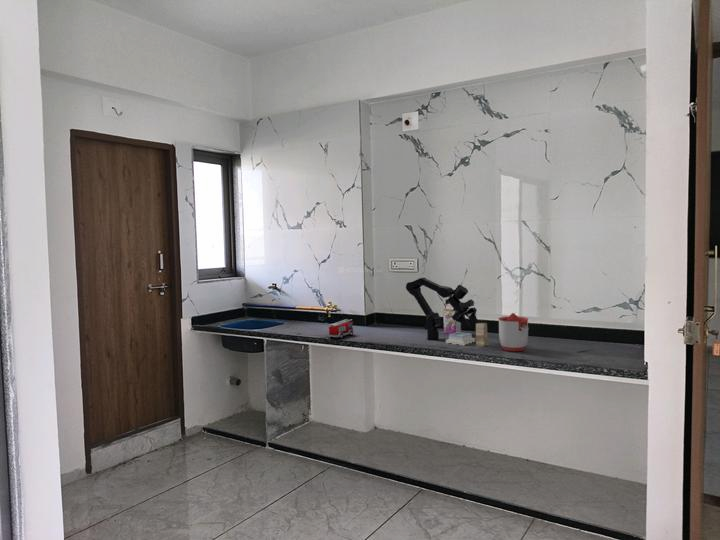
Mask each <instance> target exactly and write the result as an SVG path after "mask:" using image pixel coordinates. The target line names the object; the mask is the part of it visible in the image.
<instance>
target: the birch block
mask: <svg viewBox="0 0 720 540" xmlns="http://www.w3.org/2000/svg"><path fill="white" fill-rule="evenodd" d="M475 342H476V343H475V345H479V346H478V347H486V346H488V323H487V322H478V323H477V324H476V323H475ZM485 345H486V346H485Z"/></svg>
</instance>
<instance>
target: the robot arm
mask: <svg viewBox="0 0 720 540" xmlns="http://www.w3.org/2000/svg"><path fill="white" fill-rule="evenodd" d="M422 286H424V287H425V288H428V289H429V290H432V291H434V292H436V293H437V295H439V296H440V297H441V298H443V299H445V298H447V299H445V302H444V304H445V305H450V306H451V308H454V309H453V310H454V311H456V313H455V314H454V315H453V316H452V319H453V320H454V321H457V322H460V323H461V325H462V324H463V325H465V326H467V327H471V324H470V322H469V321H468V320H470V321H472V322H473V323H474V324H475V325H476V324H477V323H479V320H478V318H477V312H478V309H477V308H476V307H474V306H475V301H474V300H472V299H468V300H467V301H465V302H462V301H461V300H463V299H464V297H466V295H467V294H468V293H469V289H468V288H467V287H465V286H463V285H462V284H458V285H457V286H456V287H455V289H453V288H452V287H450V286H445V285H440V284H438V283H436V282H435V281H432V280H430V279H428V278H426V277H419V278H417V279H415V280H413V281H410V282H407V283H406V284H405V289H406V290H407V292H408V293H409V294H410V295H411V296H412V297H414V299H415V300H416V302H417V304H418V305H419V307H420V308H421V310H422V312H423V313H424V315H425V320H426V323H425V324H424V326H423V327H424V330H426V339H427V340H428V341H434V340H439V338H440V337H439V331H438V330H439V328H440V326H441V324H442V319H441V318H442V317H441V316H440V314H439V313H438V312H434V311H433V310H432V308H431V307H430V304H429V303H428V302H427V300H426V298H425V296H424V295H423V293H422V289H421V287H422ZM467 319H468V320H467Z"/></svg>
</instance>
